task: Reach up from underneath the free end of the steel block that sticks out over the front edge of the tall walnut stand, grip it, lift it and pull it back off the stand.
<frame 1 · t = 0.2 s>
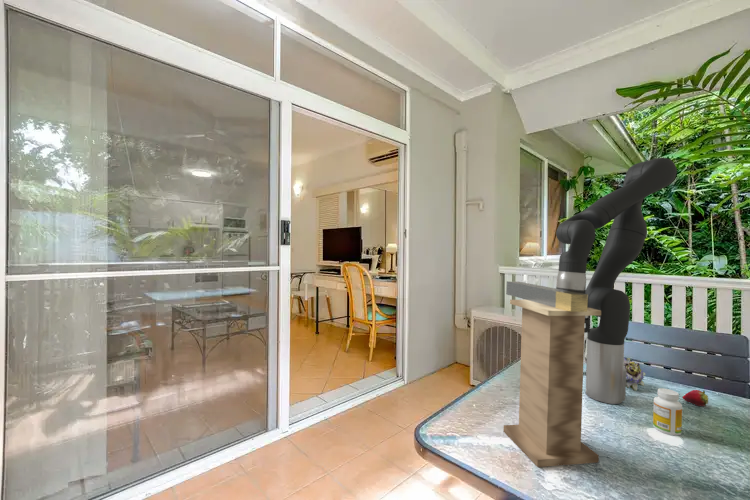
hand: (566, 341, 98), 17 cm above the table, tool pointing down, fingers open, 8 cm apart
walnut stand: (547, 445, 74), on the table
steel block: (540, 301, 78), point 32 cm above the table, touching walnut stand
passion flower: (623, 385, 110), on the table
supplement bottle: (666, 430, 83), on the table
fruit: (695, 405, 97), on the table
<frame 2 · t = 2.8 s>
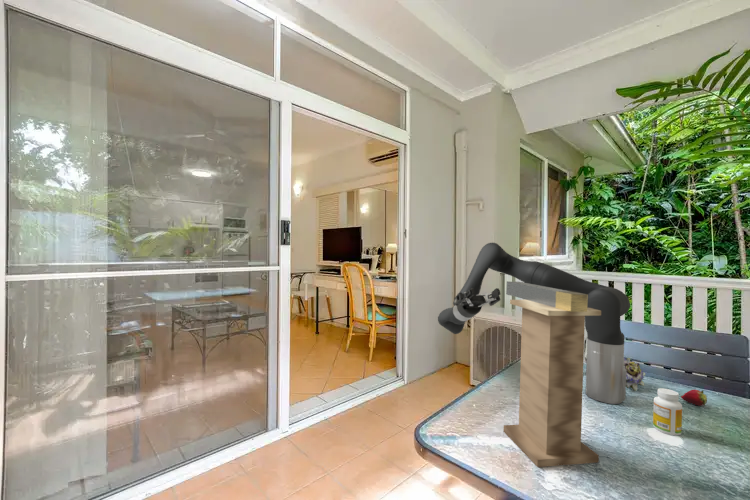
hand: (486, 290, 105), 31 cm above the table, tool pointing upward, fingers open, 8 cm apart
nothing on the table moved.
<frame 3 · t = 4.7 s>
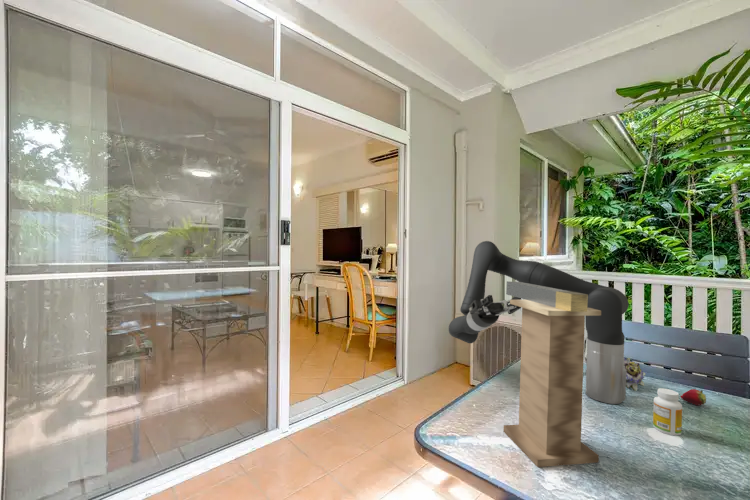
hand: (505, 298, 93), 30 cm above the table, tool pointing upward, fingers open, 8 cm apart
nothing on the table moved.
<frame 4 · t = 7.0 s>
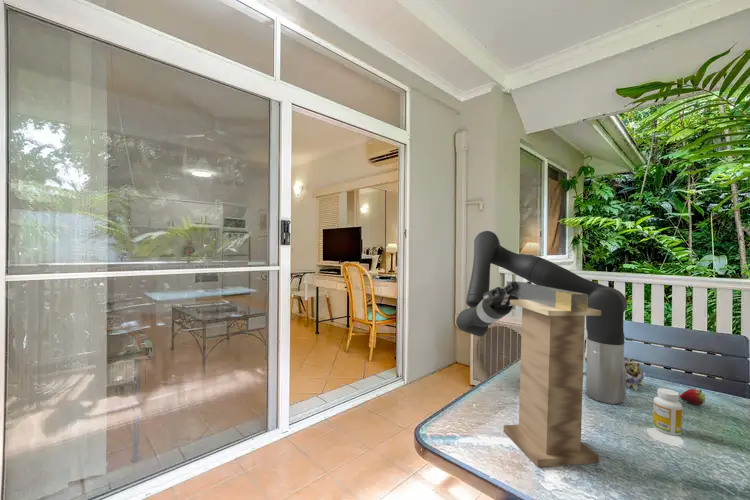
hand: (523, 284, 85), 35 cm above the table, tool pointing upward, fingers closed on steel block, 3 cm apart
steel block: (540, 301, 78), point 32 cm above the table, touching gripper, walnut stand
everything else where it was.
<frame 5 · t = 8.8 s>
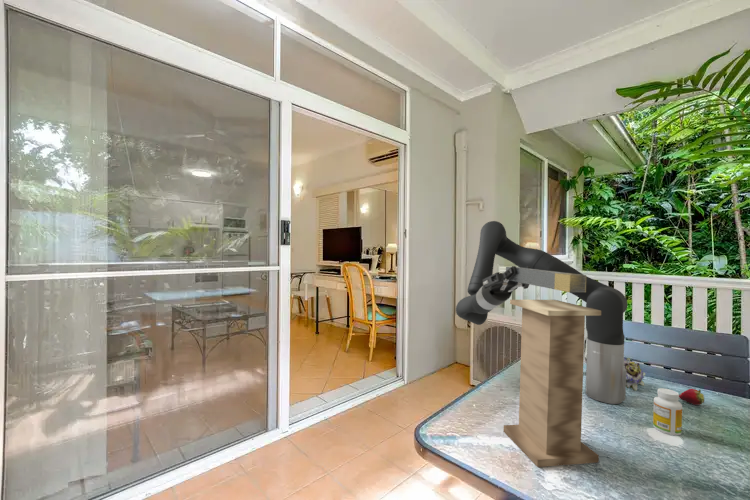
hand: (522, 269, 86), 39 cm above the table, tool pointing upward, fingers closed on steel block, 3 cm apart
steel block: (539, 285, 79), point 36 cm above the table, touching gripper
everything else where it was.
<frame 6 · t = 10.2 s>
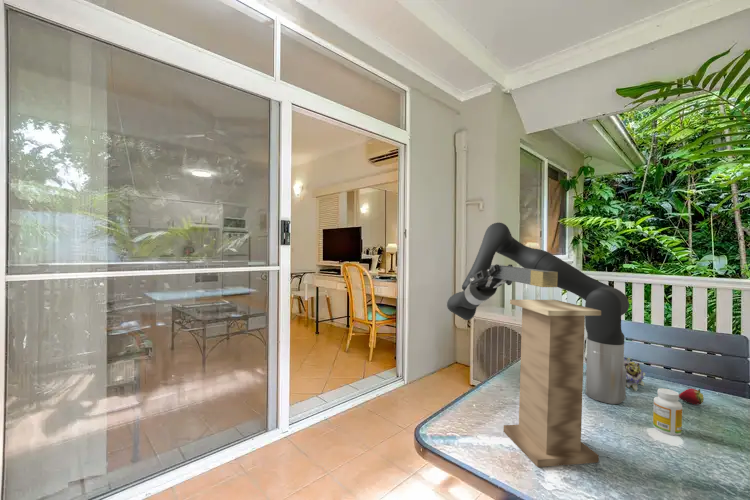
hand: (505, 267, 94), 39 cm above the table, tool pointing upward, fingers closed on steel block, 3 cm apart
steel block: (519, 281, 87), point 36 cm above the table, touching gripper
everything else where it was.
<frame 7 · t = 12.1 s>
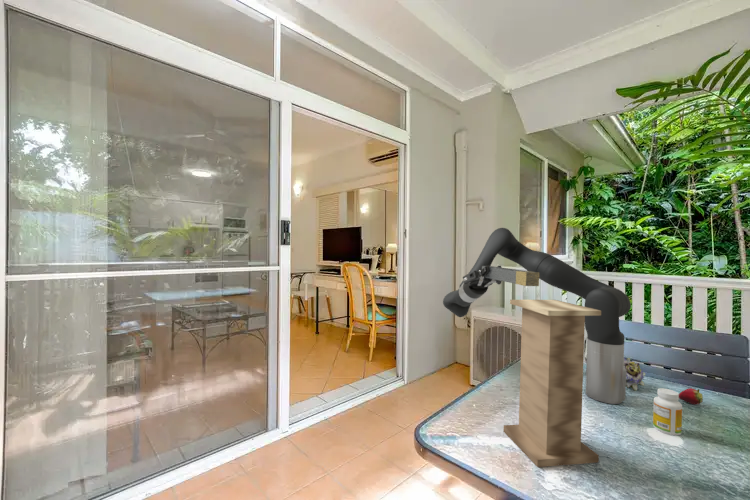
hand: (494, 268, 104), 38 cm above the table, tool pointing upward, fingers closed on steel block, 3 cm apart
steel block: (506, 280, 97), point 35 cm above the table, touching gripper
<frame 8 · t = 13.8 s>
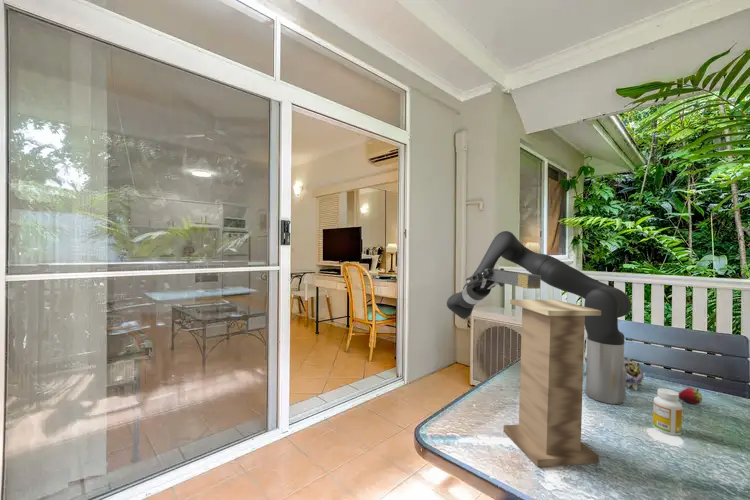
hand: (497, 270, 106), 37 cm above the table, tool pointing upward, fingers closed on steel block, 3 cm apart
steel block: (508, 283, 99), point 34 cm above the table, touching gripper
at the end: the gripper is holding steel block; steel block touching gripper; steel block moved 20.9 cm from its start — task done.
